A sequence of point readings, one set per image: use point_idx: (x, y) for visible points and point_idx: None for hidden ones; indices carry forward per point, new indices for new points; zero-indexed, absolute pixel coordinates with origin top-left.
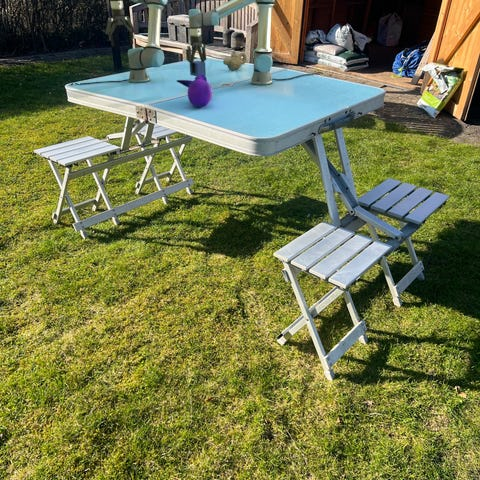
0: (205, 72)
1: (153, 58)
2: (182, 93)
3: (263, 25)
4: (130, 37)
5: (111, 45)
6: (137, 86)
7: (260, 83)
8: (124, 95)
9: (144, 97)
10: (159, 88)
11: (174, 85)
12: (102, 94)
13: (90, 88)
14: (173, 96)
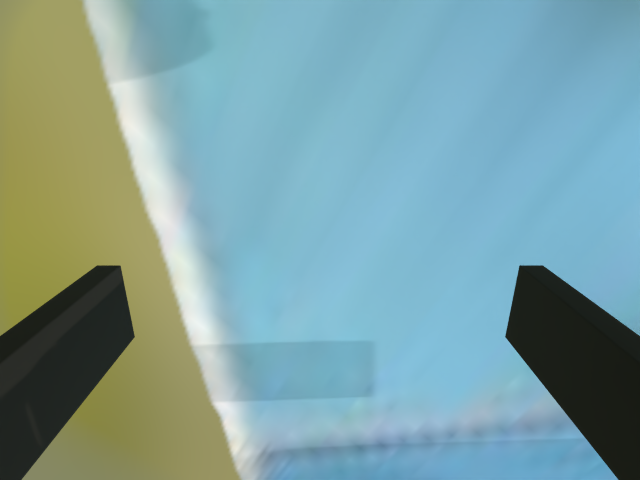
0: None
1: None
2: (496, 387)
3: None
4: (597, 385)
5: (91, 270)
6: (457, 35)
7: None
8: (256, 227)
9: (315, 337)
10: (507, 209)
11: (627, 200)
12: (157, 102)
13: None
14: (425, 405)
